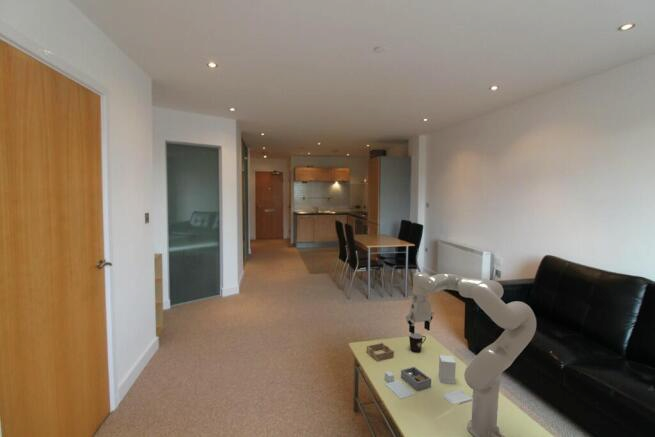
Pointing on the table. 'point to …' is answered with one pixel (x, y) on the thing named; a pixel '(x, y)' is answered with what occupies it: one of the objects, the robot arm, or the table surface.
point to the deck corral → (378, 357)
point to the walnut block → (419, 378)
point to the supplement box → (447, 369)
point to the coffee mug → (416, 342)
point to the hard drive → (457, 397)
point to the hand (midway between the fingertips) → (419, 331)
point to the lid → (397, 386)
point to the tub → (413, 382)
